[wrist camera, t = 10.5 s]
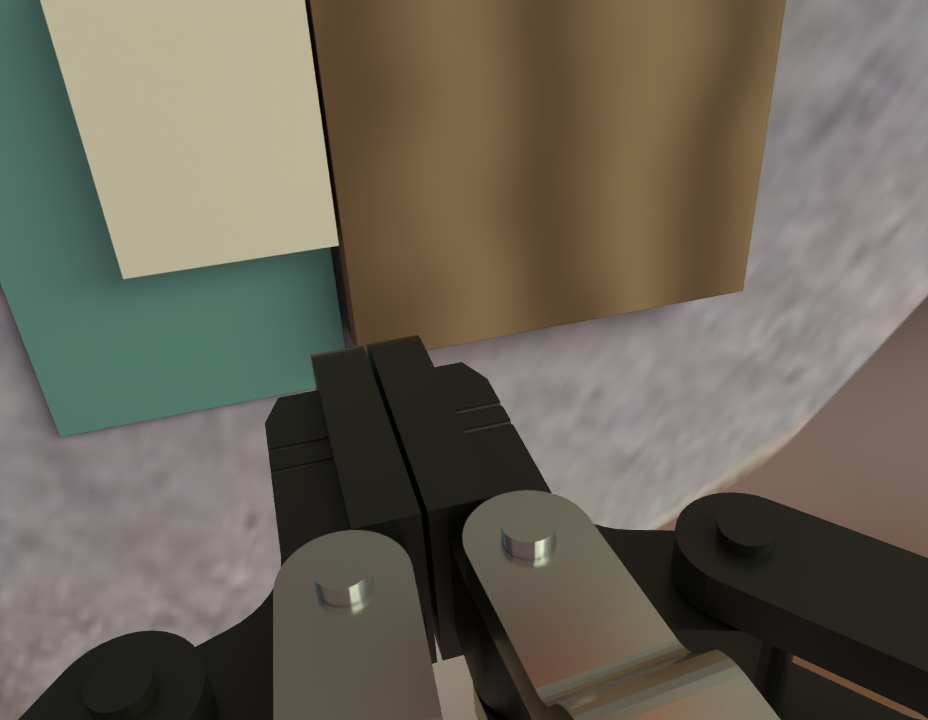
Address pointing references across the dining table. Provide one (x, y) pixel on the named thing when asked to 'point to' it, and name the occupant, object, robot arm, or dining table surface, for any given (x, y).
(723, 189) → the brown wooden board
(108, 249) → the mat
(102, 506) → the dining table surface
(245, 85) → the tile
